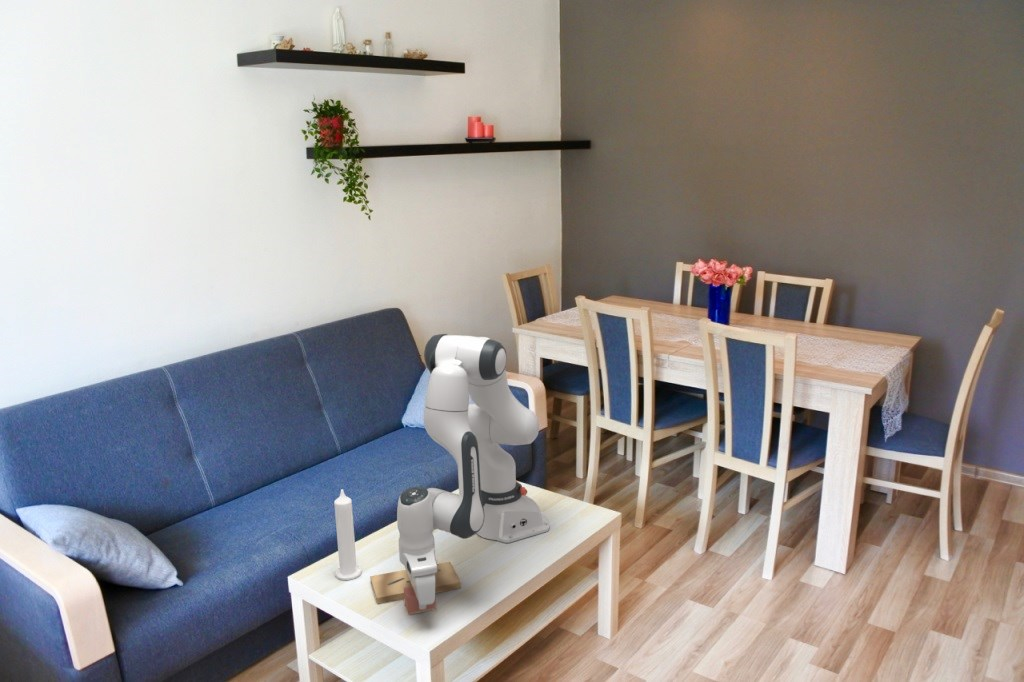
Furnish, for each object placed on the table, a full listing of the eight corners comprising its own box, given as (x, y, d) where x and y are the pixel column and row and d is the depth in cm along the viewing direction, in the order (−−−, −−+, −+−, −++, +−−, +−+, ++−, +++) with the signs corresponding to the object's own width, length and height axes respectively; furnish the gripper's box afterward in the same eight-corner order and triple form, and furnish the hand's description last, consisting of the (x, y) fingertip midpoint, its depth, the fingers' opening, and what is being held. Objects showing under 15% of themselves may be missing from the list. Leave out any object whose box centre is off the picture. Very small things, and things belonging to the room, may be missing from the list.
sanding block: (431, 599, 208) (430, 582, 207) (435, 609, 204) (434, 591, 203) (404, 605, 206) (403, 587, 205) (408, 614, 202) (407, 597, 201)
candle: (357, 564, 226) (350, 481, 220) (365, 576, 220) (359, 491, 214) (332, 571, 223) (325, 487, 216) (339, 583, 217) (332, 497, 210)
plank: (450, 567, 223) (450, 561, 223) (460, 587, 213) (460, 581, 213) (370, 582, 217) (370, 576, 216) (377, 604, 207) (376, 597, 206)
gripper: (396, 535, 210) (399, 582, 213) (412, 574, 191) (415, 626, 195) (420, 531, 212) (423, 578, 215) (438, 569, 193) (441, 621, 196)
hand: (419, 601), depth 205 cm, fingers closed on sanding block, 4 cm apart
